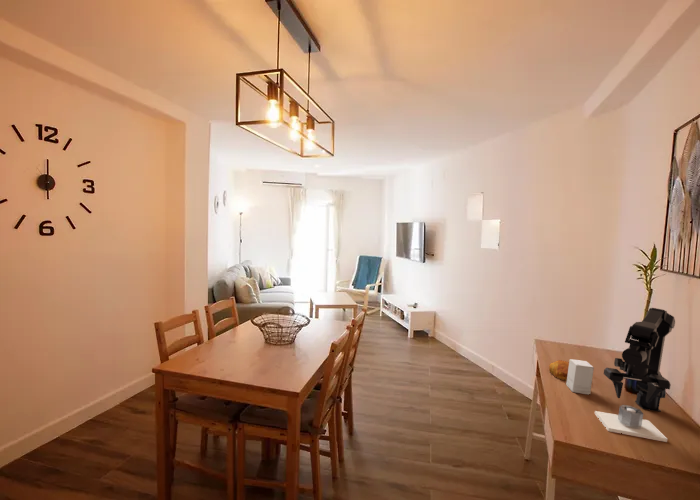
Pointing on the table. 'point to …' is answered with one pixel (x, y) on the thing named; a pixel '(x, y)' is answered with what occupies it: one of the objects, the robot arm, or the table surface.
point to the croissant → (559, 369)
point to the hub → (630, 416)
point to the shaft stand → (616, 426)
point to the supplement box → (579, 376)
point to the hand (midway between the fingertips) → (632, 400)
